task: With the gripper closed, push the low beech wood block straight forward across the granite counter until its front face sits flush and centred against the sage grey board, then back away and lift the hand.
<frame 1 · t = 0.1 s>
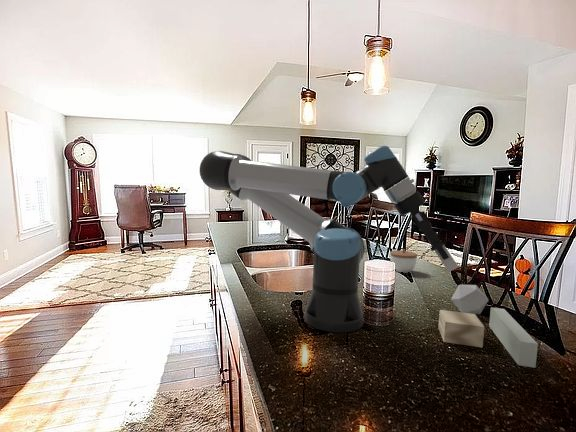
hand: (449, 263, 90), 15 cm above the kitchen island, tool tilted 35°, fingers open, 13 cm apart
beech block: (459, 338, 80), on the kitchen island
lidded jar: (402, 271, 141), on the kitchen island
grey faceted block: (468, 312, 96), on the kitchen island
sage board: (509, 344, 77), on the kitchen island
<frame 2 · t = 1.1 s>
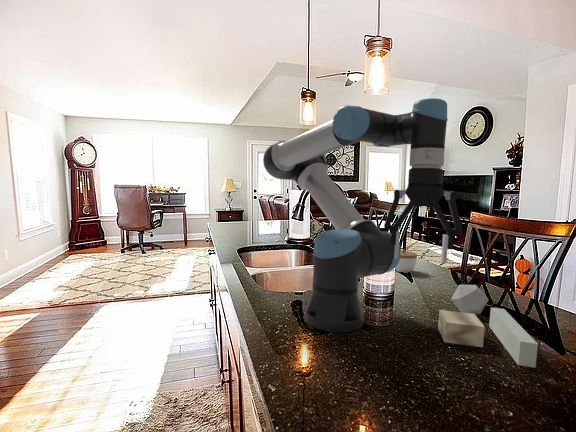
hand: (419, 260, 81), 18 cm above the kitchen island, tool pointing down, fingers open, 10 cm apart
nothing on the kitchen island moved.
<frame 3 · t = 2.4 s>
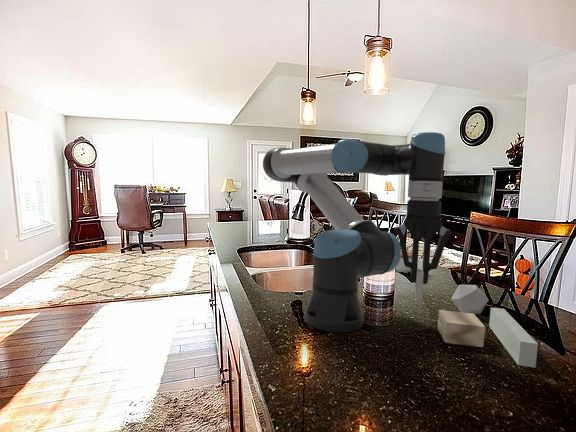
hand: (418, 295, 81), 9 cm above the kitchen island, tool pointing down, fingers closed
nothing on the kitchen island moved.
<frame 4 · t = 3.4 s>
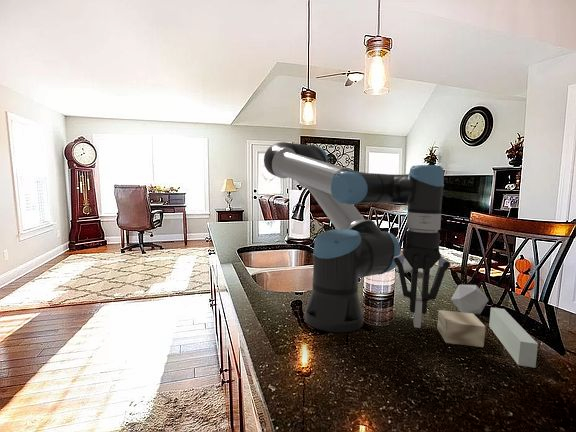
hand: (416, 325, 82), 1 cm above the kitchen island, tool pointing down, fingers closed
nothing on the kitchen island moved.
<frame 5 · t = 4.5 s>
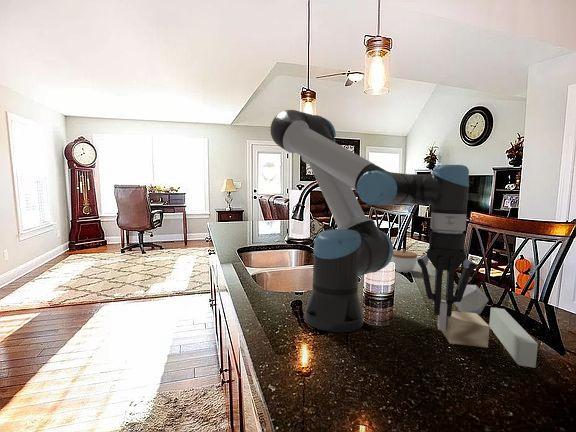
hand: (441, 328, 80), 2 cm above the kitchen island, tool pointing down, fingers closed
beech block: (462, 338, 79), on the kitchen island, touching gripper
everything else where it was.
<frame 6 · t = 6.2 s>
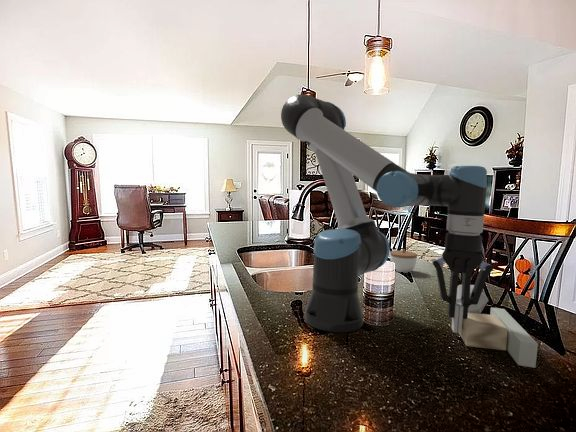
hand: (456, 330, 80), 2 cm above the kitchen island, tool pointing down, fingers closed
beech block: (480, 340, 78), on the kitchen island, touching gripper
everything else where it was.
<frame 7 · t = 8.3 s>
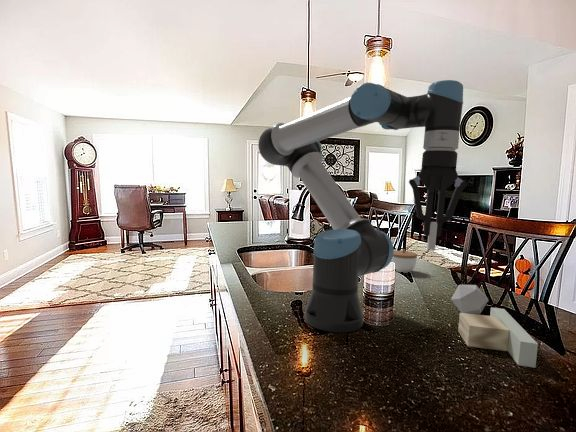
hand: (430, 248, 81), 20 cm above the kitchen island, tool pointing down, fingers closed
beech block: (481, 341, 78), on the kitchen island
everything else where it was.
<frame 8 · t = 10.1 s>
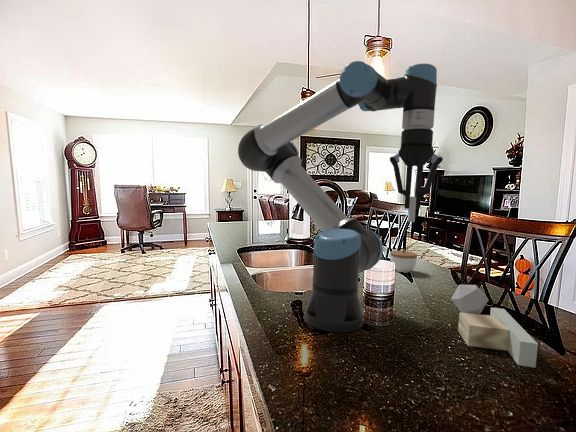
hand: (411, 221, 87), 26 cm above the kitchen island, tool pointing down, fingers closed
nothing on the kitchen island moved.
at the end: beech block 0.1 cm from the target spot on the kitchen island beside the sage board, on the kitchen island; beech block tilted 0° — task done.
